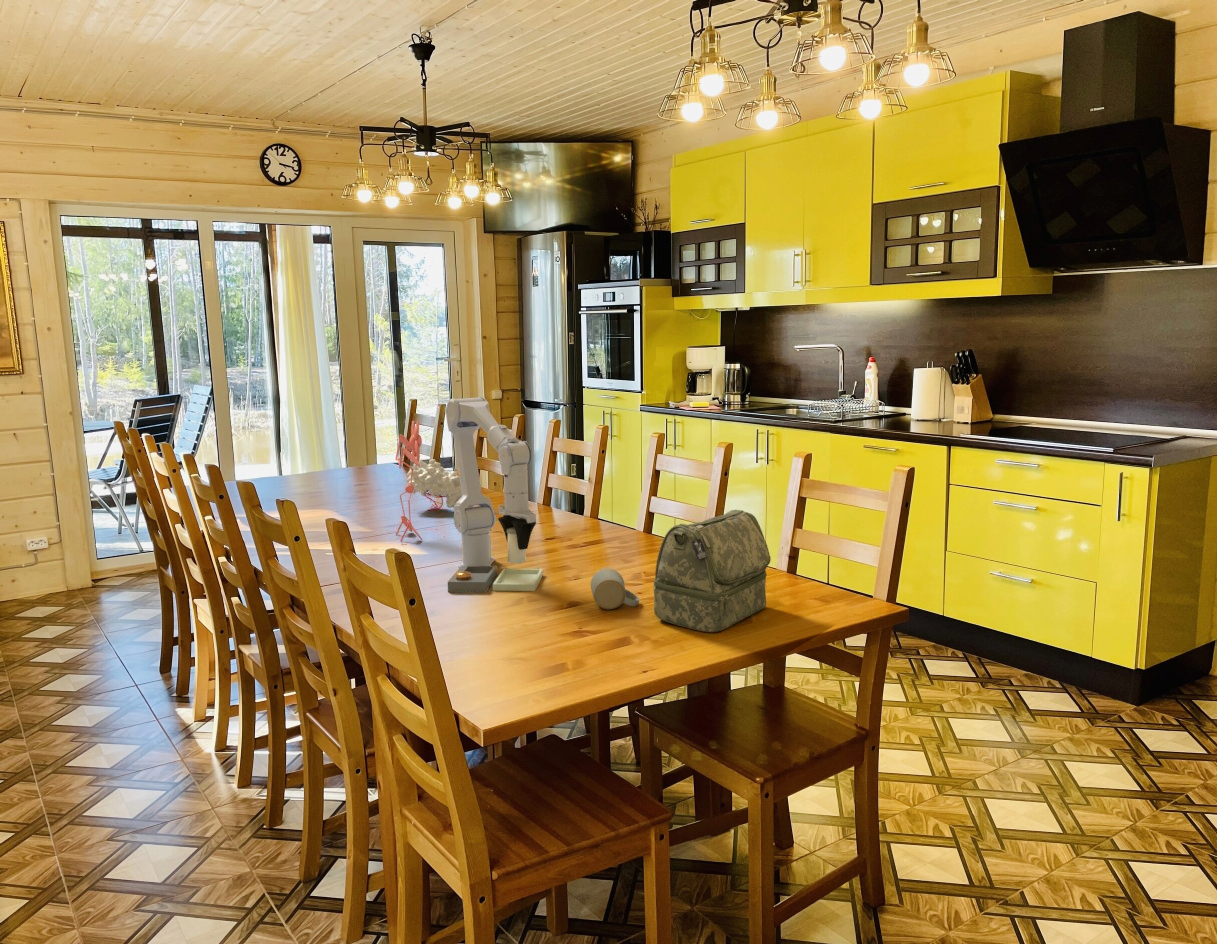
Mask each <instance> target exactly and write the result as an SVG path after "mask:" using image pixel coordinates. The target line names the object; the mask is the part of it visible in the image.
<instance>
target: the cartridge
mask: <svg viewBox="0 0 1217 944" xmlns="http://www.w3.org/2000/svg"><path fill="white" fill-rule="evenodd" d="M507 533H508V543H507V562H508V563H509V564H517V565H518V564H519V565H521V564H523V563H526V562H527V558H526V557H527V552H526V551H527V549H523V550H519V548H518V543H517V535H516V531H515V528H514V527H511V528H508V529H507Z"/></svg>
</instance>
